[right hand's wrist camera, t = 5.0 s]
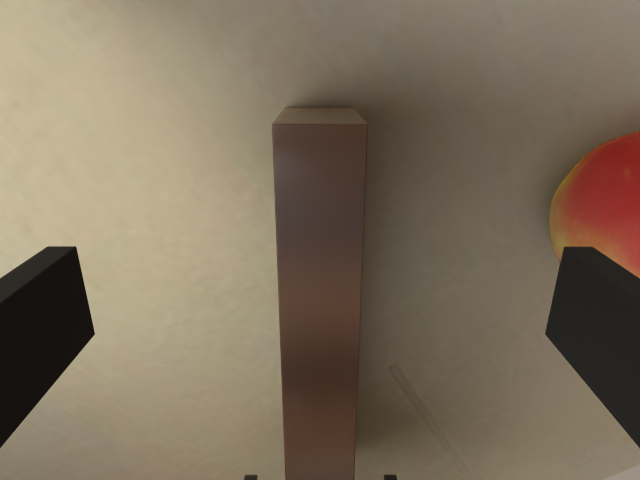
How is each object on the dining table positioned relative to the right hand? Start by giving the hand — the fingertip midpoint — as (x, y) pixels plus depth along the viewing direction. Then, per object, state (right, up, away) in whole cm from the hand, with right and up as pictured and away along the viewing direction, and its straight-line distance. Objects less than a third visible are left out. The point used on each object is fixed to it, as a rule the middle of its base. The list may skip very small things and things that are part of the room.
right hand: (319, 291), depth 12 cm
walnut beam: (0, -3, +18) cm, 18 cm away
